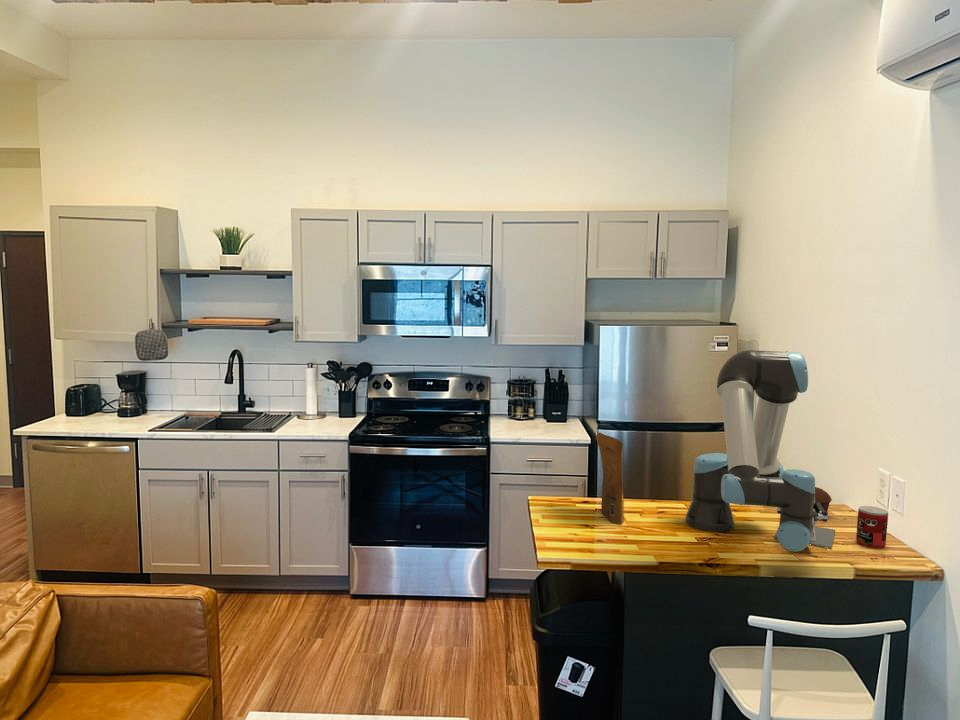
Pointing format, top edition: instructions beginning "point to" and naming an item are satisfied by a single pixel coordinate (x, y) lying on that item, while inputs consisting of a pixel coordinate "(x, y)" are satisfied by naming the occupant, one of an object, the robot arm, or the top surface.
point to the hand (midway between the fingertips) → (807, 497)
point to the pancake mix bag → (612, 478)
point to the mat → (821, 537)
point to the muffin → (822, 498)
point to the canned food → (872, 527)
